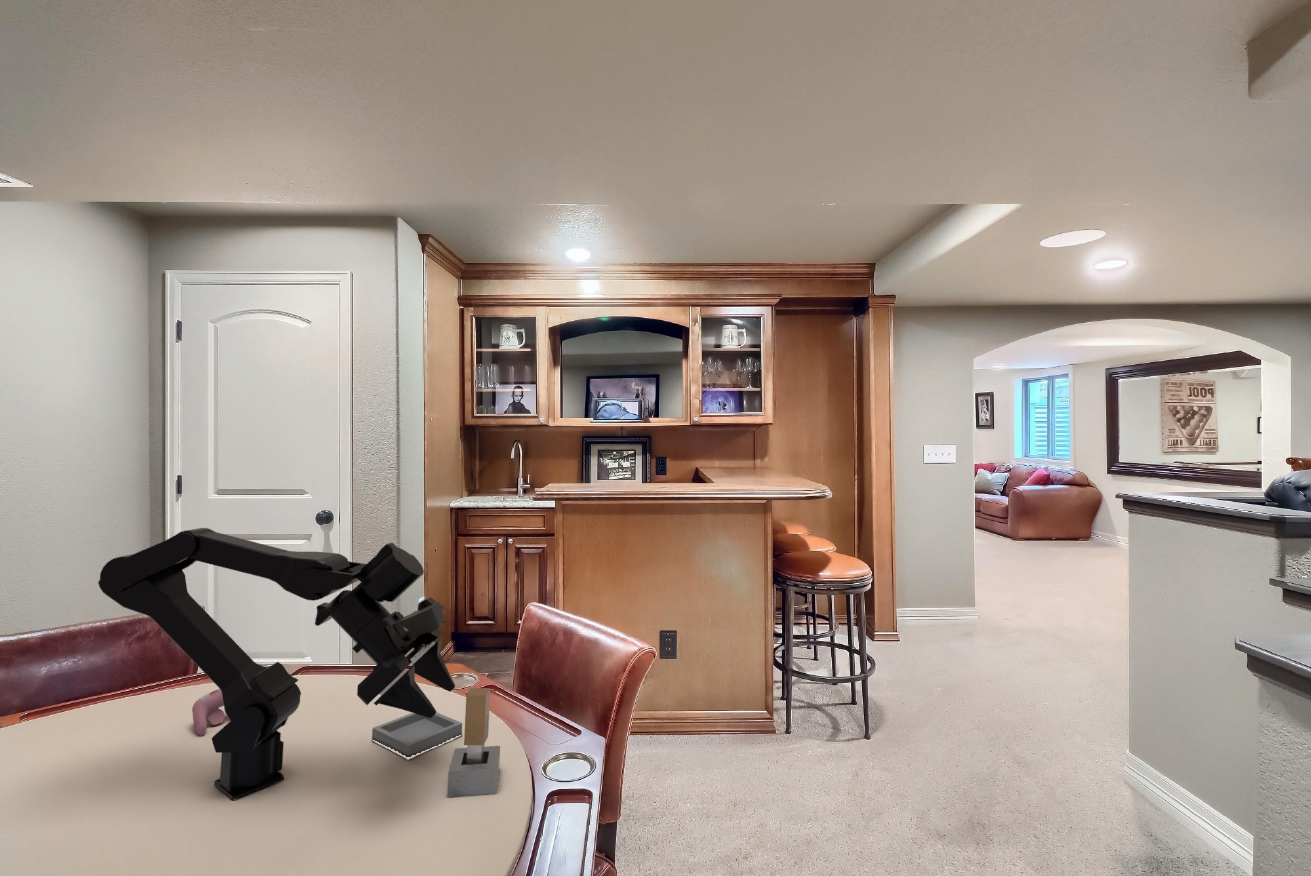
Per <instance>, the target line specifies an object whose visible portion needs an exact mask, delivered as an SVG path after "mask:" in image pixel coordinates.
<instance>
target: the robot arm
mask: <svg viewBox="0 0 1311 876" xmlns="http://www.w3.org/2000/svg"><path fill="white" fill-rule="evenodd" d="M196 562H200V563H204V564H208V565H212V566H215V567H216V566H217V567H219V568H224V569H228V570H232V571H236V572H240V573H243V574H247V575H251V576H256V577H260V578H262V579H267V580H269V581H273V582H274V583H276V584H277V585H278V586H279V587H280V588H282V589H283V590H284V591H286V592H288V593H290V594H293V595H295V596H296V597H299V598H301V599H304V600H306V601H313V602H314V601H318V600H322V599H323V598H326V597H328V596H330V595H332V594H334V593H336V592H339V591H340V590H342V591H340V593H339V594H338V595H336V596H335V597H334V598H333V599H332V600H331V601H329V602H322V603H320V604H318V605H317V606H316V617H315V620H314V625H315V626H317V627H320V626H321V625H322V624H325V623H327V622H328V621H330V620H331V619H332V620H333V621H335V623H337V625H338V626H339V627H340V628H341V629H342V630H343V631H344V632H345V633H346V634H347V635H348V636H349V637H350V639H351V640H352V641H354V642H355V645H354V646H353V647H352V650H353V651H354V652H355V654H358V653H360V652H361V651H363V652H364V653H365V654H366V655H367V656H368V657H369V658H370V659H371V661H373V663H375V664H376V665H375V666H373V668H372V671H371V672H370V673H369V674H368V675H367V676H366V677H365V678H363V680H361V681H360V683H358V684H357V687H356V688H357V692H356V695H357V697H358V698H359V699H360V700H361V701H362V702H363V704H365V705H366V706H368V705H369V704H370V703H371V702H373V700H375V699H376V697H378V695H380V696H379V697H378V698H377V699H376V700H375V701H374V702H373V704H374V705H375V706H378V705H383V706H387V707H391V708H395V709H398V710H403V711H406V712H409V713H415V714H418V715H422V716H425V717H428V718H432V717H433V716H434V715H435V714H436V712H437V710H436V708H435V707H434V705H433V704H432V702H431V700H430V699H429V698H428V697H427V695H426V694H425V693H424V692H423V690H422V689H421V687H420V686H419V685H418V683H417V681H416V679H415V675H418V676H419V677H421V678H423V679H425V680H426V681H428V682H430V683H432V684H434V685H436V686H437V687H439V688H441V689H443V690H445V691H448V692H450V693H451V692H452V691H453V690H454V689H455V688H456V684H455V682H454V680H453V678H452V675H451V674H450V672H449V669H448V667H447V666H446V664H445V661H444V659H443V657H442V654H441V651H442V650H441V649H442V642H443V636H442V634H443V633H444V631H443V630H442V629H440V627H441V626H442V624H443V623H446V622H447V620H446V618H445V615H444V612H443V611H444V610H445V605H443V604H441V603H440V601H439V600H438V601H436V600H435V599H433V598H432V597H431V596H430V597H427V598H425V599H423V600H421V601H419V602H418V605H417V610H415V611H413V612H411V613H410V614H407V615H405V616H404V615H403V614H402V613H401V612H400V611H393V612H390V611H389V610H387V608H386V607H385V606H384V605H383V604H382V603H383V602H389V603H393V602H395V601H396V600H397V599H399V597H400V596H401V595H403V593H405V592H406V591H407V589H409V588H410V587H411V586H412V585H414V583H416V581H417V580H418V579H419V578H421V576H423V575H424V567H423V565H422V564H421V562H420V561H419V560H418V558H417V557H416V556H415V555H413V554H410V553H409V552H408V551H406V550H405V549H402V548H401V547H398V546H397V545H396V544H395V543H394V542H387V544H385V545H384V546H383V547H381V548H380V550H379V551H378V552H377V554H376V555H374V557H373V558H372V559H370V561H368V562H367V563H363V562H362V563H361V562H358V561H357V562H356V561H355V562H354V561H349V558H347V557H346V556H345V555H343V554H340V553H336V552H326V551H325V552H323V551H297V550H296V551H294V550H292V551H291V550H287V549H286V550H285V549H284V548H283V549H282V548H278V547H274V546H272V545H268V544H263V543H259V542H257V541H252V540H248V539H245V538H239V537H236V536H233V535H229V534H224V533H220V532H216V531H214V530H213V529H212V528H208V527H200V528H194V529H187V530H182V531H180V532H178V533H176V534H175V535H172V536H171V537H169V538H168V539H166V540H164V541H161V542H159V543H156V544H154V545H152V546H149V547H147V548H144V549H141V550H140V551H138V552H135V553H132V554H127V555H121V556H117V557H114V558H112V559H110V560H109V561H107V562H106V563H104V564H105V565H103V567H102V569H101V572H100V574H99V579H98V581H97V585H98V587H99V589H100V590H101V592H102V593H103V594H104V595H106V596H107V597H108V598H109V599H111V600H112V601H113V602H114V603H117V604H118V605H120V606H121V607H122V608H124V609H127V610H130V611H133V612H135V613H139V614H142V615H144V616H147V617H149V618H150V619H152V620H153V622H154V623H155V624H157V625H158V626H159V628H160V629H161V630H162V631H163V632H164V633H165V634H167V636H168V637H169V638H170V639H171V640H172V641H173V642H174V643H175V644H176V645H177V646H178V647H179V648H180V649H181V651H182V652H183V653H185V655H187V656H188V658H189V659H190V660H191V661H192V662H193V663H195V665H196V666H197V667H198V668H199V669H200V670H201V671H202V672H203V673H204V674H205V675H206V676H207V677H208V678H209V680H211V681H212V682H213V683H214V684H215V686H217V688H218V689H220V690H221V692H222V697H223V703H224V706H223V708H224V710H223V711H224V714H226V715H225V716H227V717H228V719H229V720H230V721H229V722H228V723H226V725H224V726H223V727H222V728H221V729H219V731H218V732H216V733H215V734H214V735H213V736H212V737H211V742H212V745H213V748H214V752H215V753H219V754H221V758H220V760H221V761H220V771H219V774H220V775H219V778H217V779H215V780H214V783H213V785H214V786H215V787H216V788H217V789H218V790H220V791H221V792H222V793H224V794H225V795H226V796H227V797H228V798H230V799H231V800H236V799H239V798H241V797H243V796H244V797H245V796H246V795H249V794H251V793H254V792H257V791H259V790H261V789H264V788H266V787H269V786H271V785H274V784H277V783H279V782H281V781H284V779H285V774H283V773H281V772H280V771H282V770H283V761H284V759H283V758H284V748H285V747H284V745H285V743H284V741H282V740H281V737H282V732H280V731H279V729H280V728H282V727H284V726H285V725H286V724H287V721H288V720H289V717H291V716H292V715H293V714H294V713H295V712H296V711H297V710H298V708H299V706H300V703H301V696H302V692H301V689H300V687H299V686H298V685H297V684H296V683H297V682H298V681H299V679H298V678H297V677H294V676H292V675H291V674H290V673H289V672H288V671H287V670H286V667H285V666H284V665H283V664H282V663H280V661H277V662H274V663H273V664H271V665H270V666H269V667H268V666H264V665H261V664H258V663H257V662H256V661H254V660H253V659H252V658H251V657H250V656H249V655H248V654H247V653H246V652H245V650H243V649H242V648H241V646H240V645H239V644H237V643H236V641H235V640H234V639H233V638H232V637H231V636H230V635H229V634H228V633H227V632H226V631H225V630H224V629H223V628H222V627H221V626H220V625H219V623H217V621H215V619H213V617H212V616H211V615H210V614H209V613H208V612H207V611H206V610H205V609H204V608H203V606H201V605H200V604H199V603H198V602H197V601H196V599H194V598H193V596H191V595H190V594H189V592H188V586H187V581H186V580H187V579H186V574H185V572H184V571H183V570H186V569H187V568H188V567H190V566H192V565H193V564H194V563H196ZM357 582H359V584H358V585H356V586H355V587H354V588H353V589H352V590H350V589H345V590H343V589H344V588H347V587H349V586H350V585H353V584H355V583H357ZM440 636H441V637H440ZM439 637H440V638H439ZM438 638H439V639H438ZM437 639H438V640H437ZM436 640H437V641H436ZM435 641H436V642H435ZM410 664H412V665H410ZM409 666H410V667H409ZM408 667H409V668H408ZM407 668H408V669H407Z"/></svg>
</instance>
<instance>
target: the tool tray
mask: <svg viewBox="0 0 1311 876" xmlns="http://www.w3.org/2000/svg"><path fill="white" fill-rule="evenodd" d="M371 731H372V733H371V741H372V740H375V741H377V742H379V743H381V744H383V745H385V746H387V747H390V748H391V749H394V750H395V751H398V752H399V753H401V754H402V755H405V756H406V757H411V756H412V755H416V754H417V753H421V752H422V751H425V750H427V749H430V748H432V747H434V746H438V745H439V744H442V743H443V742H446V741H447V740H450V739H451V738H455V737H456V736H459V735H461V734H462V735H463V722H460V721H458V720H456V719H453V718H452V717H449V716H446V715H445V714H442V713H439V712H437V711H436V714H435V715H434V716H433V717H432V718H428V717H425V716H422V715H418V714H415V713H412V712H410V713H408V714H406V715H403V716H400V717H398V718H395V719H392V720H389V721H387V722H385V723H381V724H379V725H377V726H376V725H375V726H374V727H372V730H371Z"/></svg>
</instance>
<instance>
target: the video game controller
mask: <svg viewBox="0 0 1311 876" xmlns="http://www.w3.org/2000/svg"><path fill="white" fill-rule="evenodd" d="M221 707H224V703H223V697H222V692H221V690H220V689H219V688H218V689H215V690H213V691H211V692H209V693H206V694H204V695H202V696H201V697H200V698H198V699H197V700H196V701H194V703H193V705H192V708H191V711H192V712H191V713H192V722H193V726H194V728H195V729H194V730H195V732H196V733H197V735H199V736H200V737H201V736H204V735H205V733H206V730H207V726H208V725H210V726H218V725H219V724H220V723H222V722H223V721H224V720H225V718H226V715H225V714H226V713H225V711H224V710H223V709H221Z"/></svg>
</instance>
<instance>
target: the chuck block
mask: <svg viewBox="0 0 1311 876" xmlns="http://www.w3.org/2000/svg"><path fill="white" fill-rule="evenodd" d="M500 756H501V745H491V746H490V745H488V746H484V764H472V765H467V747H457V748H454V750H453V754H452V757H451V762H450V763H449V767H448V768H449V769H448V772H447V773H448V775H447V789H446V790H447V791H446V792H447V793H446V795H447V796H446V798H455V797H457V798H458V797H469V796H481V795H494V794H497V788H498V782H499V773H500V760H501V759H500V758H501V757H500Z"/></svg>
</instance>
